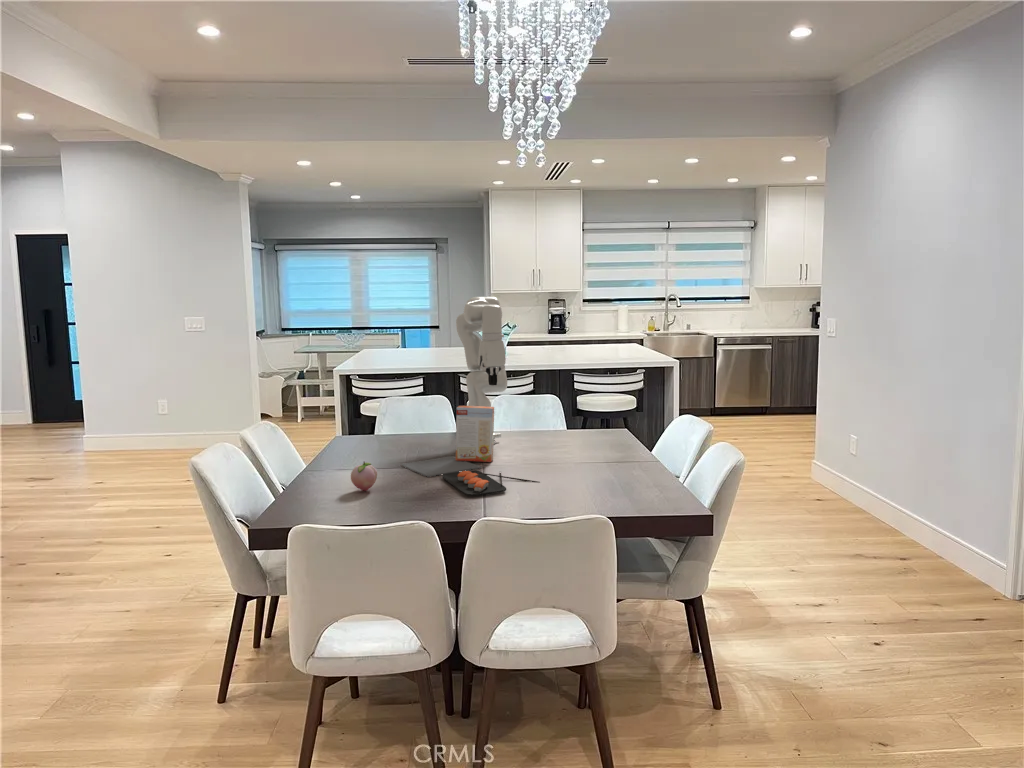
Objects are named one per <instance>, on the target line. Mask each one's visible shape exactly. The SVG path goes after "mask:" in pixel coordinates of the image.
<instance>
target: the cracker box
mask: <svg viewBox="0 0 1024 768" xmlns="http://www.w3.org/2000/svg"><path fill="white" fill-rule="evenodd" d="M455 422H456V427H455V429H456V430H455V458H456V461H466V462H479V463H491V462H493V459H494V445H493V442H494V440H495V439H494V433H495V431H494V430H495V407H494V406H491V407H484V406H469V405H458V406H456V419H455Z"/></svg>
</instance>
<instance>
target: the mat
mask: <svg viewBox="0 0 1024 768" xmlns="http://www.w3.org/2000/svg"><path fill="white" fill-rule="evenodd" d="M401 465H402V466H404V467H403V468H405V467H406V469H407V468H408V470H409V469H410V470H409V471H412V470H413V471H412V472H414V471H415V472H414V473H416V472H417V473H416V474H418V475H421V474H422V475H421V476H423V475H424V476H423V477H425V476H427V477H426V478H431V477H430V476H434V477H437V476H436V475H439V476H442V475H441V474H446V473H453V472H459V471H465V470H468V471H472V470H471V469H474V470H478V468H480V469H481V468H482V466H480V465H478V464H474V463H472V462H470V461H456V456H452V455H450V456H449V455H448V456H443V457H437V458H432V459H431V458H430V459H425V460H419V461H412V462H406V463H405V462H404V463H400V466H401ZM402 466H401V467H402Z"/></svg>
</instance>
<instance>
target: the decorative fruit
mask: <svg viewBox="0 0 1024 768" xmlns="http://www.w3.org/2000/svg"><path fill="white" fill-rule="evenodd" d="M377 477H378V471H377V469H376V468H375V467H374V465H372V463H371V462H367V461H366V462H365V461H363V463H362V464H358V465H356V466H355V467H354V468H353V469H352V471H351V472H350V480H351V482H352V484H353V486H354V487H356V488H358V489H359V490H361V491H365V492H366V491H368V490H369V489H371V488H372V487H373V486H374V484H375V483H376V481H377V479H378V478H377Z"/></svg>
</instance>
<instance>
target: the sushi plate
mask: <svg viewBox="0 0 1024 768" xmlns="http://www.w3.org/2000/svg"><path fill="white" fill-rule="evenodd" d="M441 476H442V478H443V479H444V480H445V482H446V481H447V482H448V483H450V485H451V486H453V487H454V488H455V489H457V491H460V492H461V493H462V494H464V495H466V496H482V495H483V494H484V495H489V494H496V493H501V492H505V491H507V487H506V486H505V485H503V479H504V478H505V479H510V480H515V481H521V482H526V481H532V482H531V483H539V481H536V480H531V479H524V478H518V477H517V478H516V477H511V476H503V475H502V472H501V473H499V475H498V474H490V473H486V472H485V473H484V472H482V471H480V470H478V469H474V470H468V471H462V472H453V473H446V474H443V475H441ZM492 477H498V478H499V479H500V482H499V481H497V480H495V479H493V478H492Z"/></svg>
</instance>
